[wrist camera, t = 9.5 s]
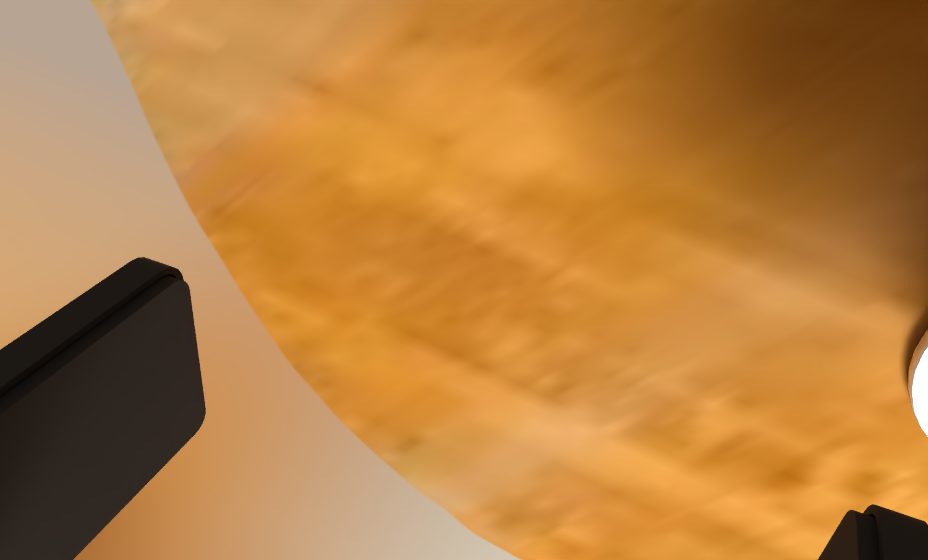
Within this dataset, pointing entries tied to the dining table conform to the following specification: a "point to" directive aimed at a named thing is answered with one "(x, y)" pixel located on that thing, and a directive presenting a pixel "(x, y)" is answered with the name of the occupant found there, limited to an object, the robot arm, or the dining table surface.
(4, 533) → the robot arm
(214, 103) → the dining table surface
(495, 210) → the dining table surface
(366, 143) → the dining table surface
